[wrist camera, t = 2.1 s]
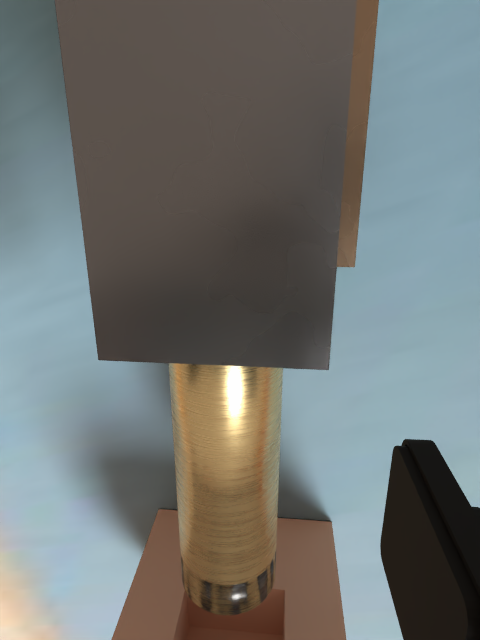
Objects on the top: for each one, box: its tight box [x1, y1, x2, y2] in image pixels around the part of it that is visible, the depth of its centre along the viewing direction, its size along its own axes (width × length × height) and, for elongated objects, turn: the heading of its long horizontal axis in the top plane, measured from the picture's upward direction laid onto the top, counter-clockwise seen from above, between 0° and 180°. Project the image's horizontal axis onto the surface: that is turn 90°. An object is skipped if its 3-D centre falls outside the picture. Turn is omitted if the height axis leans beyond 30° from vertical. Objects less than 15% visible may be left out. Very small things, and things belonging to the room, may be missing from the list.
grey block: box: [55, 0, 379, 370], centre depth 11 cm, size 9×7×8 cm
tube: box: [169, 363, 283, 615], centre depth 12 cm, size 16×3×3 cm, turn 0°
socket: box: [112, 509, 346, 640], centre depth 17 cm, size 4×8×8 cm, turn 90°
